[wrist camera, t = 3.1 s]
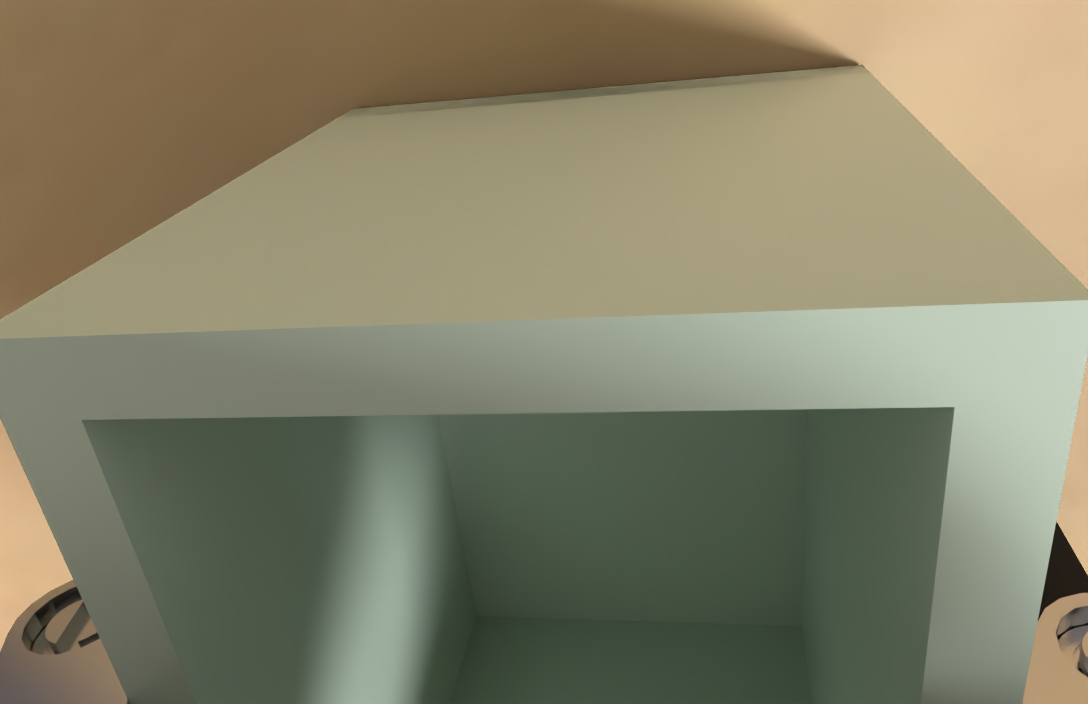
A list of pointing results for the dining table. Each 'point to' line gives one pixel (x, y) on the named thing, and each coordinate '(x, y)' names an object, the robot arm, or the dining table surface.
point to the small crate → (566, 411)
